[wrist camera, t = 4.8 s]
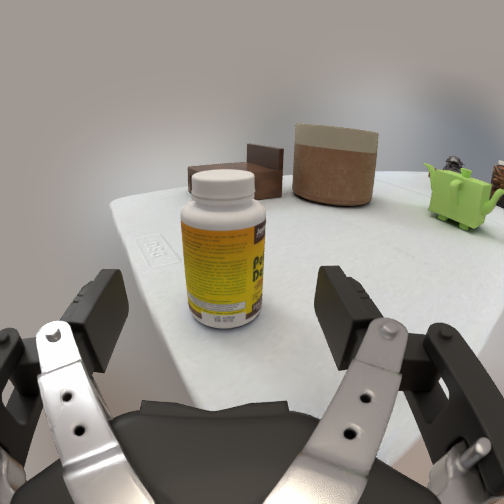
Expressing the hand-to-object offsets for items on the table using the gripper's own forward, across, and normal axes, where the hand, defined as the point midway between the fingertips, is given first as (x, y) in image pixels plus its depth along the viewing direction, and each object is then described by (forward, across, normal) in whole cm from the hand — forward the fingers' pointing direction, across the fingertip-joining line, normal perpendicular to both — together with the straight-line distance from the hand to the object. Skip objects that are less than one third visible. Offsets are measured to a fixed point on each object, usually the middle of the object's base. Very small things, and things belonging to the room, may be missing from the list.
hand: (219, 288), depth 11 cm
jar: (+53, +91, -8) cm, 105 cm away
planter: (+43, +20, -7) cm, 48 cm away
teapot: (+31, +44, -7) cm, 54 cm away
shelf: (+44, +1, -7) cm, 45 cm away
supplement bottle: (+8, 0, -7) cm, 11 cm away
